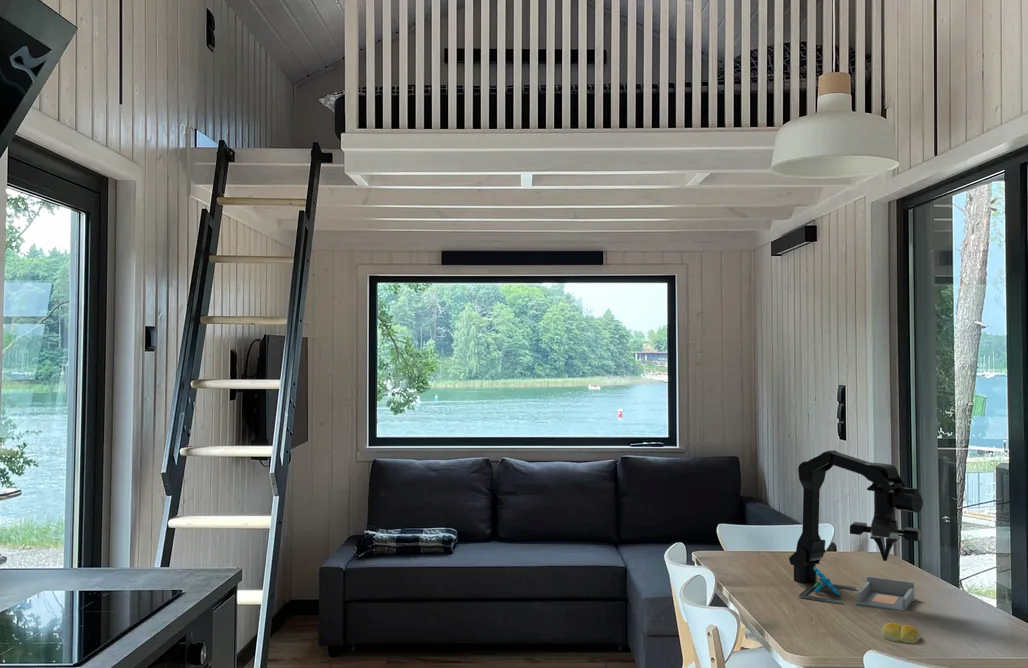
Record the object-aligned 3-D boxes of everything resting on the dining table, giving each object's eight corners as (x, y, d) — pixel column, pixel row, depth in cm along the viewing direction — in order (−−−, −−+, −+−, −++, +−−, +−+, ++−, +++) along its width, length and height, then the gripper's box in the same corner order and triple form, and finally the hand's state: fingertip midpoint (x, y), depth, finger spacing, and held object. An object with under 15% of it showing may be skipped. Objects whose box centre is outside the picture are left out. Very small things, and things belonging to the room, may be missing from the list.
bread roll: (884, 632, 218) (884, 616, 218) (922, 640, 213) (922, 624, 213) (877, 640, 211) (878, 624, 211) (916, 648, 206) (917, 632, 206)
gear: (844, 596, 249) (820, 570, 251) (829, 609, 250) (805, 583, 251) (838, 586, 260) (814, 561, 261) (823, 599, 261) (800, 574, 262)
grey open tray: (855, 606, 243) (855, 588, 243) (868, 591, 258) (868, 575, 258) (904, 613, 235) (904, 595, 236) (914, 598, 250) (914, 581, 251)
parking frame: (799, 597, 251) (799, 595, 251) (814, 583, 267) (814, 581, 267) (842, 604, 244) (842, 601, 244) (856, 589, 260) (856, 587, 260)
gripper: (845, 508, 246) (845, 561, 245) (915, 515, 236) (915, 570, 235) (853, 502, 255) (853, 554, 255) (920, 509, 245) (921, 563, 244)
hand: (885, 560), depth 247 cm, fingers closed
